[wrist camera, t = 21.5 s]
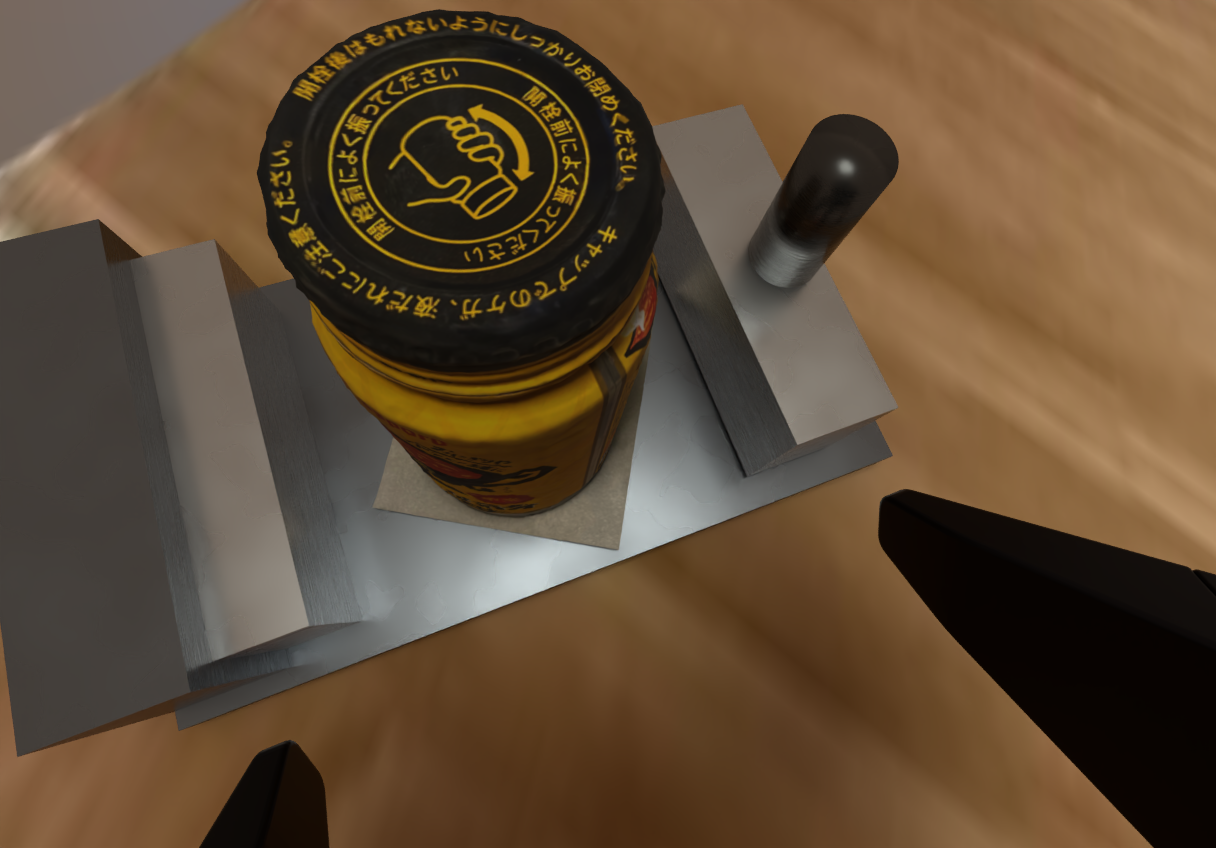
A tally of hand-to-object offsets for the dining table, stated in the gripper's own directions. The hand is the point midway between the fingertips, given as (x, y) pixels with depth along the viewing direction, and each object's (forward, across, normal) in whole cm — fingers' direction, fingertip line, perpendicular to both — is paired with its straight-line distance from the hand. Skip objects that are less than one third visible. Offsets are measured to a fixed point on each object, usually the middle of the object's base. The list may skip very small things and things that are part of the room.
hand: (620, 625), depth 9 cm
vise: (+12, 0, +2) cm, 12 cm away
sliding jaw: (+11, -8, +1) cm, 14 cm away
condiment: (+12, -1, +2) cm, 12 cm away
